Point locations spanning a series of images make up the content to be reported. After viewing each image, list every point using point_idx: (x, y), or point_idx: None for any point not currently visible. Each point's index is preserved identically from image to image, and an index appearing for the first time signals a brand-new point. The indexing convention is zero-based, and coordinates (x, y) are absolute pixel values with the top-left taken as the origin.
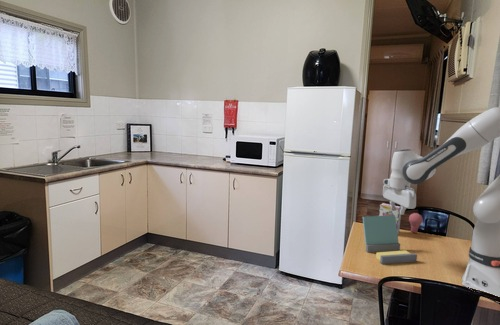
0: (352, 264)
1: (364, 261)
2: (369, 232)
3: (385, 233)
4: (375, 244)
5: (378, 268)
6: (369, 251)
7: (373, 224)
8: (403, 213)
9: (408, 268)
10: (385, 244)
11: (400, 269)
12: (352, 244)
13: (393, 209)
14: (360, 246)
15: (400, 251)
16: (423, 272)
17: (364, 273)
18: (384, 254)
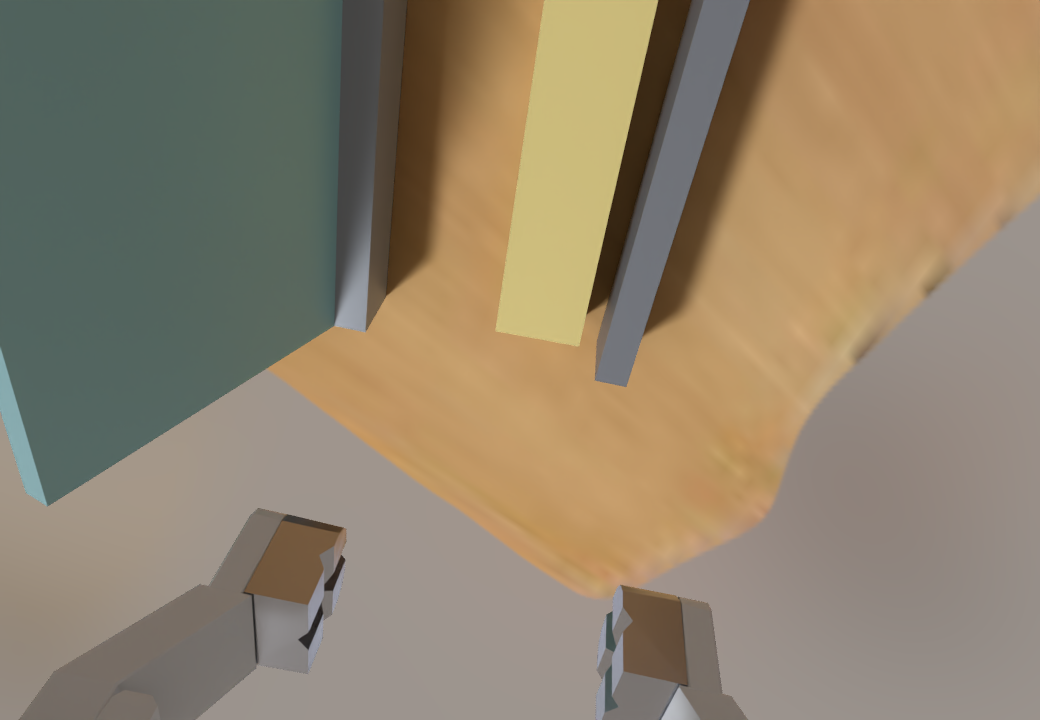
0: (541, 523)
1: (530, 430)
2: (236, 336)
3: (243, 99)
4: (346, 236)
5: (670, 419)
6: (384, 283)
7: (140, 316)
8: (705, 631)
9: (806, 188)
10: (367, 120)
11: (777, 276)
12: None
13: (333, 598)
14: None
15: (559, 51)
16: (954, 110)
17: (681, 540)
18: (557, 291)
